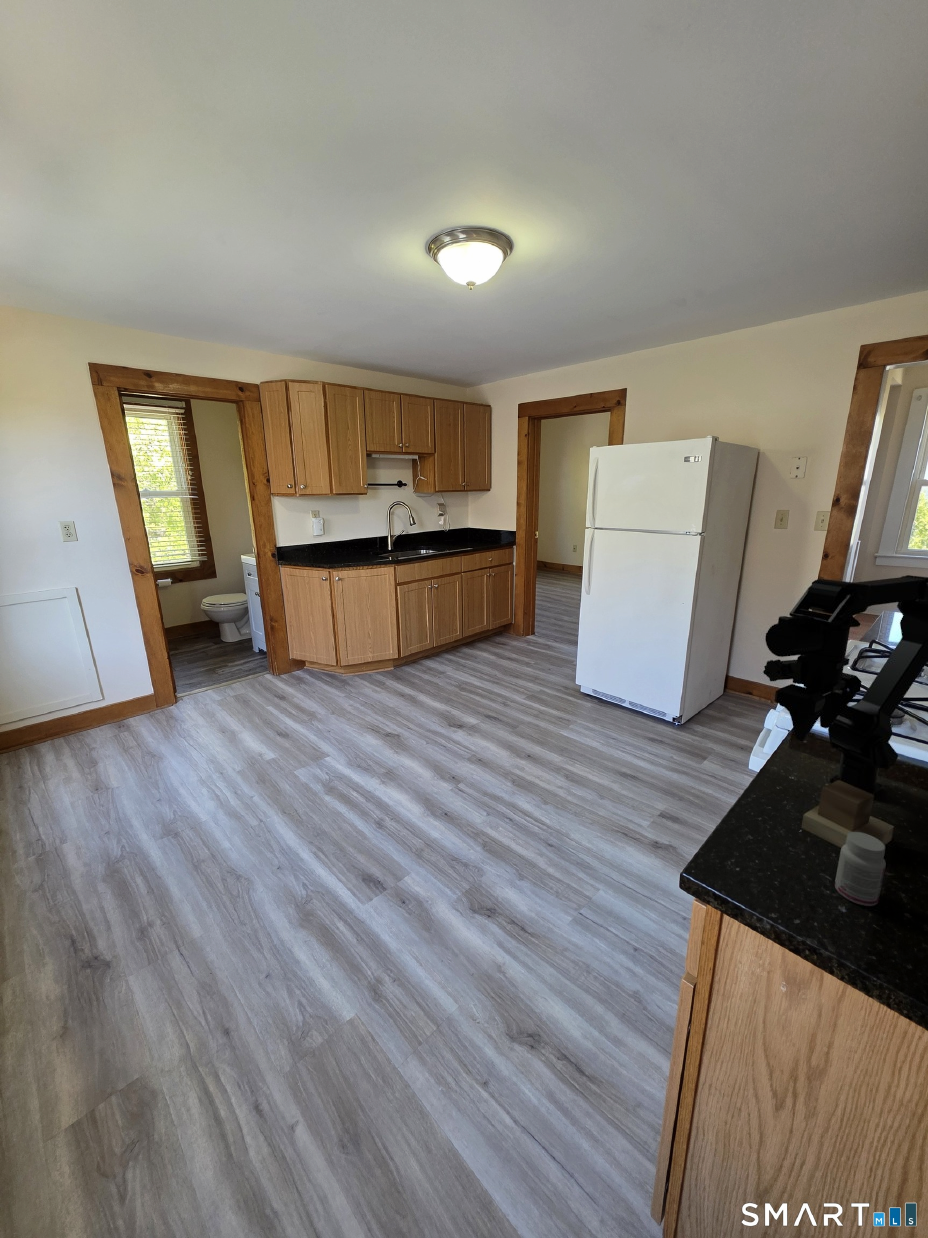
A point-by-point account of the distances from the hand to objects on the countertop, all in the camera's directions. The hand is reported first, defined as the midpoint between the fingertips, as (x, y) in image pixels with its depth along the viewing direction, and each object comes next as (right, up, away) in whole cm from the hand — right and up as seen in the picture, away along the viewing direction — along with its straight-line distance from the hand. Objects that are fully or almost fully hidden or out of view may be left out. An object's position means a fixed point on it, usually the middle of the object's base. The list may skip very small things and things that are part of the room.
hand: (812, 733), depth 87 cm
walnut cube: (-1, -12, -8) cm, 15 cm away
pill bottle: (-9, -18, -20) cm, 28 cm away
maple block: (0, -15, -8) cm, 17 cm away
